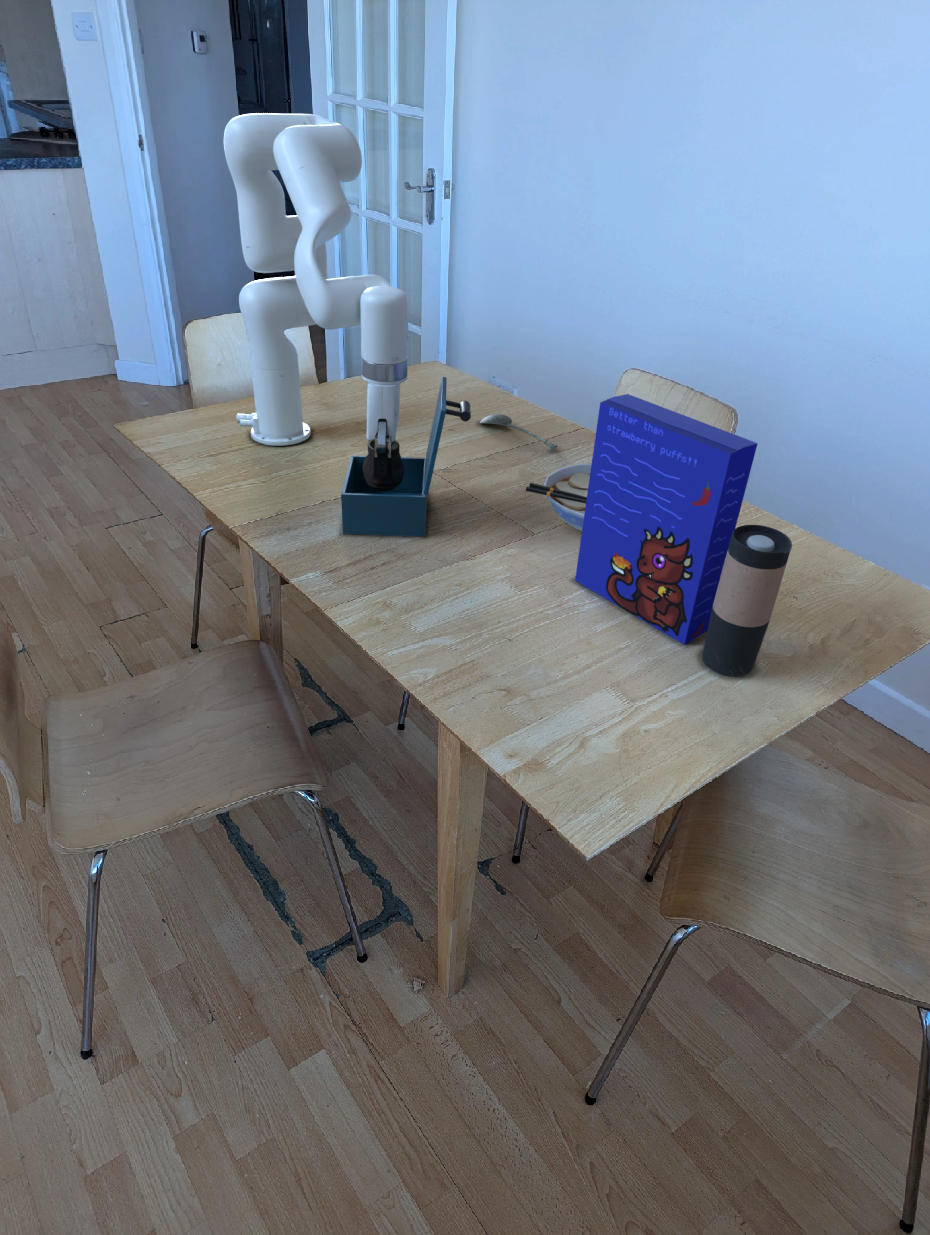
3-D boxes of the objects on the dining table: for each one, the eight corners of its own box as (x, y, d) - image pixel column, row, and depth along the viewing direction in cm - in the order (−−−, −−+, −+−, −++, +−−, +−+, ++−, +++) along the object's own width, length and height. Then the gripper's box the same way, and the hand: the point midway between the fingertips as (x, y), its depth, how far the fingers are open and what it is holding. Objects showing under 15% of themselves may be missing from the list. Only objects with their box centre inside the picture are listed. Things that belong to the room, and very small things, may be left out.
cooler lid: (441, 410, 130) (474, 417, 130) (442, 376, 143) (472, 382, 144) (423, 494, 138) (454, 500, 139) (425, 455, 151) (454, 460, 152)
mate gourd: (388, 472, 151) (388, 420, 145) (413, 488, 146) (414, 435, 140) (355, 482, 147) (354, 430, 141) (381, 499, 142) (380, 446, 136)
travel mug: (692, 645, 120) (723, 524, 108) (743, 644, 120) (778, 523, 109) (710, 678, 113) (744, 553, 102) (763, 677, 114) (803, 553, 103)
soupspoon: (495, 420, 191) (474, 427, 187) (495, 406, 189) (473, 413, 185) (565, 447, 177) (543, 456, 174) (565, 433, 175) (544, 441, 172)
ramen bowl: (685, 517, 153) (693, 476, 148) (654, 573, 136) (663, 530, 131) (558, 487, 161) (563, 448, 156) (514, 537, 144) (518, 495, 139)
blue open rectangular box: (342, 534, 142) (341, 494, 138) (352, 492, 156) (350, 455, 151) (425, 536, 143) (425, 497, 138) (427, 495, 156) (428, 457, 152)
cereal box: (708, 630, 123) (758, 441, 106) (684, 644, 120) (731, 452, 103) (599, 569, 136) (628, 392, 119) (575, 580, 133) (600, 400, 116)
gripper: (366, 350, 141) (367, 446, 151) (356, 386, 127) (358, 489, 137) (409, 352, 141) (408, 448, 152) (405, 388, 127) (403, 491, 138)
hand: (384, 467), depth 144 cm, fingers closed on mate gourd, 7 cm apart
